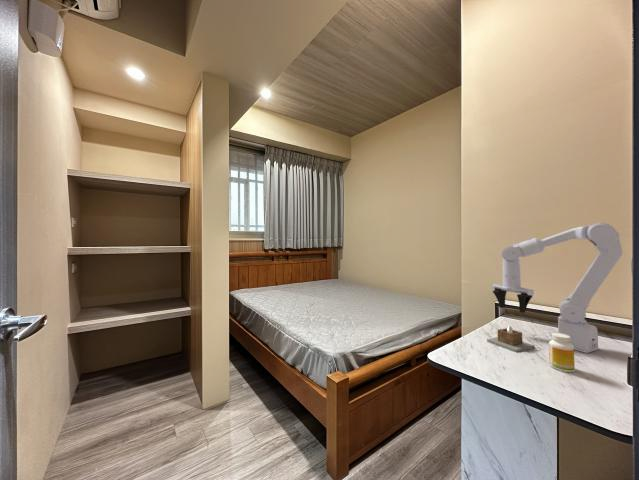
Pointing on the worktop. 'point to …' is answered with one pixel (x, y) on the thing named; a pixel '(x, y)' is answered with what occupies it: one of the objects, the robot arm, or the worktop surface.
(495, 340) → the peg base
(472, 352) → the worktop surface
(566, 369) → the supplement bottle
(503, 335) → the square ring
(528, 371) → the worktop surface
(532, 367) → the worktop surface
